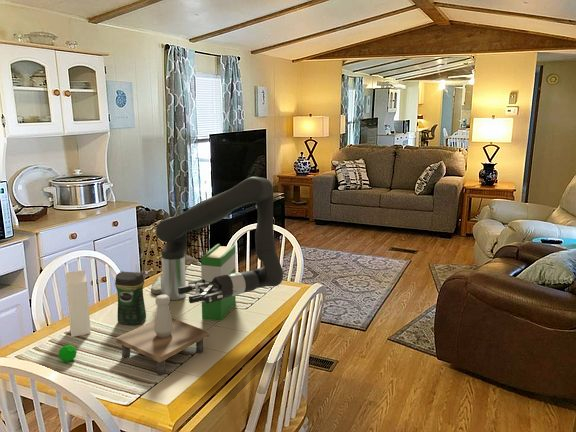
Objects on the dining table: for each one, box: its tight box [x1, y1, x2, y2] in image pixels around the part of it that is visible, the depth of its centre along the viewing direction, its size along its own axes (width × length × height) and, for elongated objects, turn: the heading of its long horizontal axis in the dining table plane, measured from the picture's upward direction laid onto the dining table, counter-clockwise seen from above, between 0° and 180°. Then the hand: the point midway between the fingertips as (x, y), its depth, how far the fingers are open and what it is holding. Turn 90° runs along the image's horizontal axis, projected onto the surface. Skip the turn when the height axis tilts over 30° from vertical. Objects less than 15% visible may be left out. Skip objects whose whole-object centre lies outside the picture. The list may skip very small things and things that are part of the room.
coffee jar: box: [114, 270, 147, 326], centre depth 169 cm, size 10×8×19 cm
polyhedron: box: [58, 344, 77, 363], centre depth 143 cm, size 5×5×5 cm
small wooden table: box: [115, 317, 209, 376], centre depth 148 cm, size 20×20×6 cm
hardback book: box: [200, 243, 237, 322], centre depth 179 cm, size 18×7×24 cm, turn 169°
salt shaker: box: [154, 294, 173, 338], centre depth 146 cm, size 6×6×13 cm
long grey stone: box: [150, 264, 187, 295], centre depth 211 cm, size 35×5×10 cm
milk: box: [65, 269, 92, 338], centre depth 159 cm, size 6×6×22 cm
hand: (183, 295), depth 149 cm, fingers open, 8 cm apart
